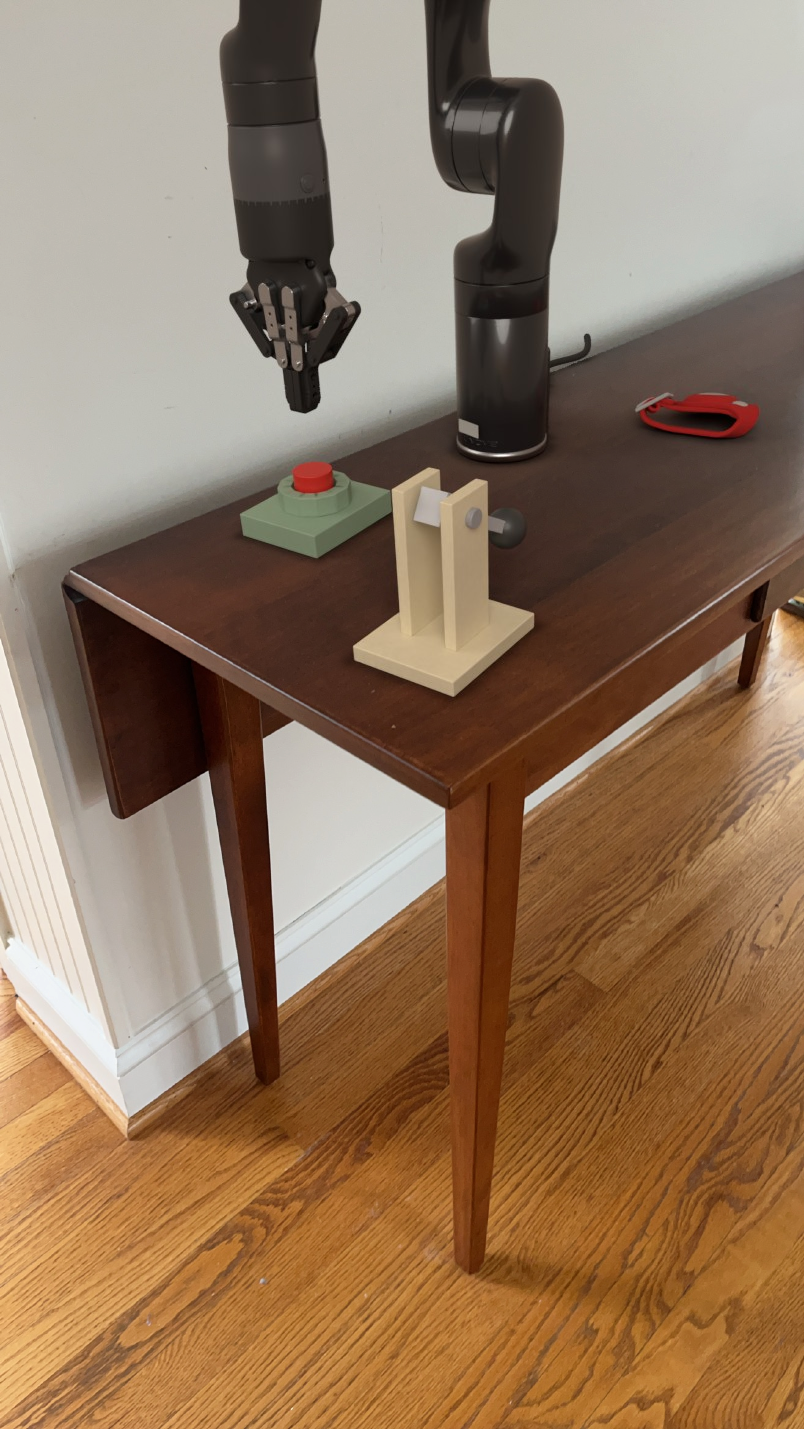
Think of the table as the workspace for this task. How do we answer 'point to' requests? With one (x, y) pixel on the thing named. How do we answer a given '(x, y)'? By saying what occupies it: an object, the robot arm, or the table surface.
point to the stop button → (313, 477)
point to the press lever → (502, 523)
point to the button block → (316, 515)
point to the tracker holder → (702, 403)
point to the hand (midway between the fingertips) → (304, 409)
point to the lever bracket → (443, 594)
